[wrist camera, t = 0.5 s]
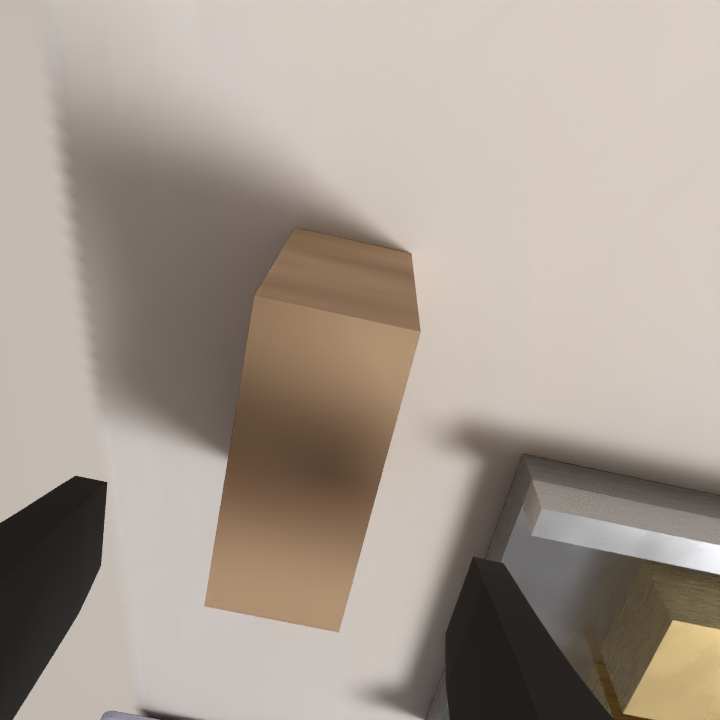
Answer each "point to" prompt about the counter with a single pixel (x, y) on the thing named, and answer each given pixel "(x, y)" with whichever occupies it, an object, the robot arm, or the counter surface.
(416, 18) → the counter surface
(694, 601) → the brass chip
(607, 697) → the brass chip
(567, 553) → the slot plate
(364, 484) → the tan rectangular block
